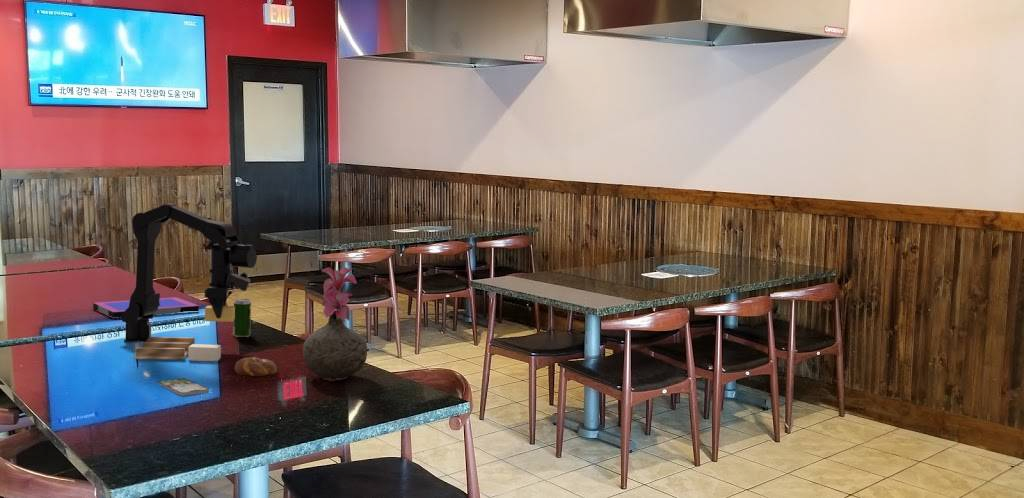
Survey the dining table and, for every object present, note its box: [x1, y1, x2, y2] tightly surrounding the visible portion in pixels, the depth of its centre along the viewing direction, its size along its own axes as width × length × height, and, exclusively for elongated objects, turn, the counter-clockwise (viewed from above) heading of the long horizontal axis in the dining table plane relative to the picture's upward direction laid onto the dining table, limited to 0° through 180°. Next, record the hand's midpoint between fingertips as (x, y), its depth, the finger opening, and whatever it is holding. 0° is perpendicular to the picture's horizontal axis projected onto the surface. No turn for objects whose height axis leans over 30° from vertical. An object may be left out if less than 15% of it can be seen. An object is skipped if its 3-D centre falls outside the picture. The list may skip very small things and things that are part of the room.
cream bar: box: [187, 343, 222, 362], centre depth 252 cm, size 8×4×4 cm, turn 94°
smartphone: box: [157, 377, 209, 397], centre depth 221 cm, size 7×1×15 cm
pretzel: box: [234, 356, 278, 377], centre depth 241 cm, size 12×11×4 cm
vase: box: [302, 266, 368, 379], centre depth 237 cm, size 17×17×30 cm
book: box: [92, 296, 200, 317], centre depth 319 cm, size 21×3×30 cm
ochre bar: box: [204, 305, 235, 323], centre depth 264 cm, size 8×4×4 cm, turn 100°
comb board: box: [135, 336, 196, 360], centre depth 257 cm, size 13×16×3 cm
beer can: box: [232, 298, 252, 338], centre depth 284 cm, size 5×5×12 cm
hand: (219, 316), depth 264 cm, fingers closed on ochre bar, 4 cm apart
